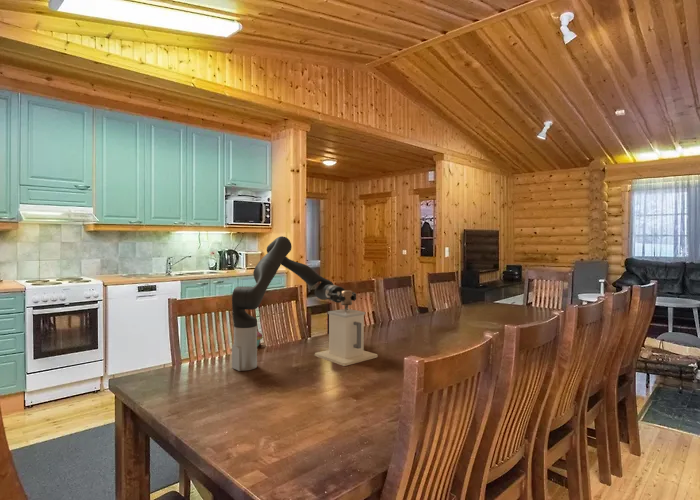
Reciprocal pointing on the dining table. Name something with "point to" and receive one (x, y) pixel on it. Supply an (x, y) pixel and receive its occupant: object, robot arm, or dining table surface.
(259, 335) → the cupcake
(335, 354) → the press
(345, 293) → the plunger
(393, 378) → the dining table surface
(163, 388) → the dining table surface
